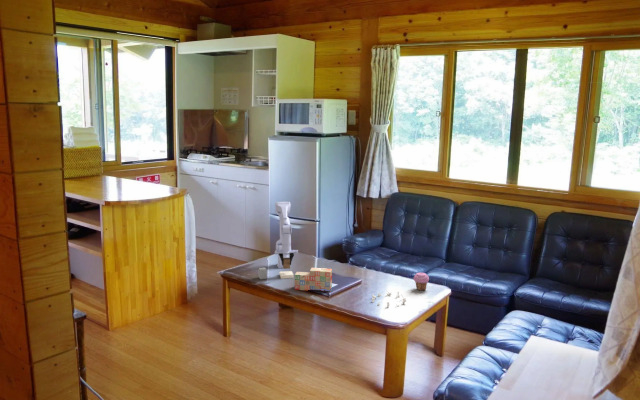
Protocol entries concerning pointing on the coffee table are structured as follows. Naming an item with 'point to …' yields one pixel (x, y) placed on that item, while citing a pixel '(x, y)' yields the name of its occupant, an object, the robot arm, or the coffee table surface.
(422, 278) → the cupcake
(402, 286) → the coffee table surface
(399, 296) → the game piece set
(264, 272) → the grey rectangular block
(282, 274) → the cream slab
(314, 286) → the stack of blocks
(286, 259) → the walnut block
